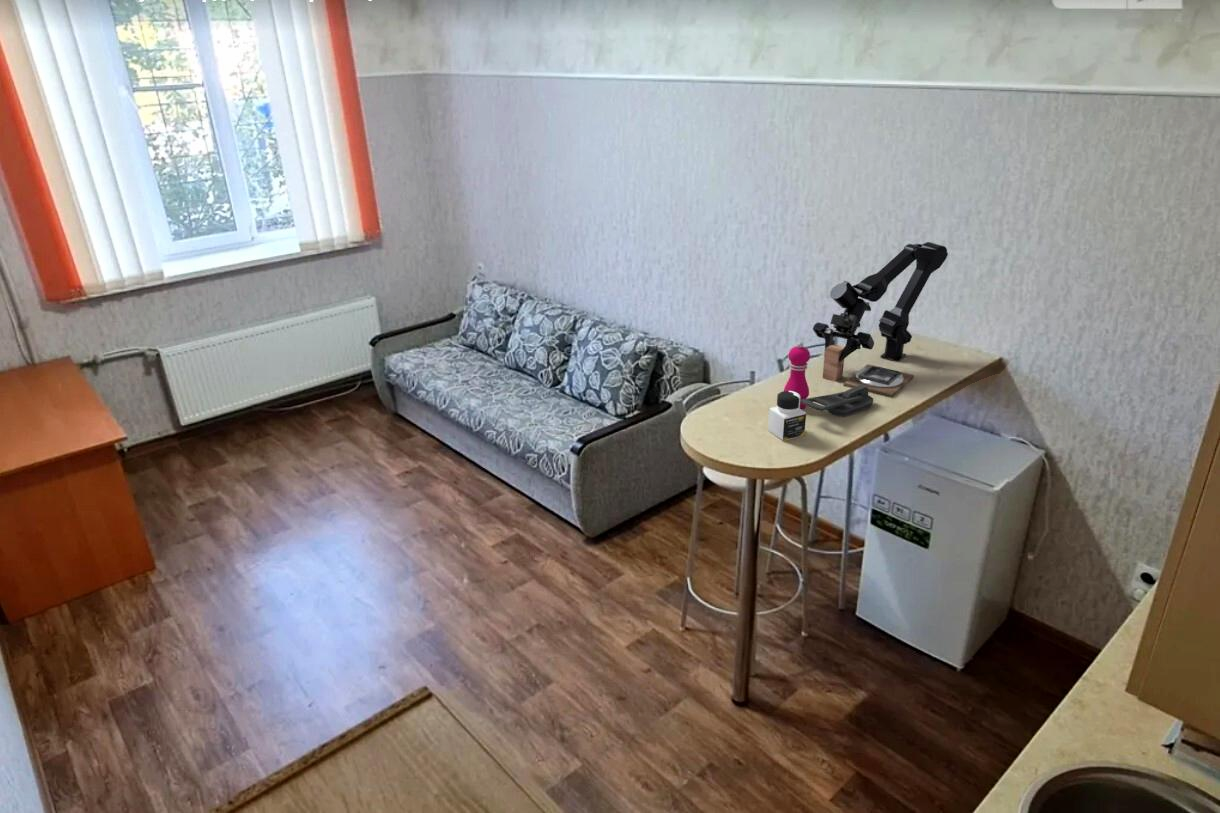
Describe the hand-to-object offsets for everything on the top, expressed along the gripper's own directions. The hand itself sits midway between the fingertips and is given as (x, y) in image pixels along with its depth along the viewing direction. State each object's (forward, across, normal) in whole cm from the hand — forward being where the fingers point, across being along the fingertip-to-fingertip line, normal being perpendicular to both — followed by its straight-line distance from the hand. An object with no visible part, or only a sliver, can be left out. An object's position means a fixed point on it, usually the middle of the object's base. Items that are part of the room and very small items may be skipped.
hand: (832, 359), depth 241 cm
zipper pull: (+19, +13, -9) cm, 25 cm away
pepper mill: (+22, +1, -12) cm, 25 cm away
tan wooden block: (+4, 0, +6) cm, 7 cm away
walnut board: (0, +13, +10) cm, 16 cm away
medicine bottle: (+33, +8, -24) cm, 42 cm away
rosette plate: (0, +13, +10) cm, 16 cm away
